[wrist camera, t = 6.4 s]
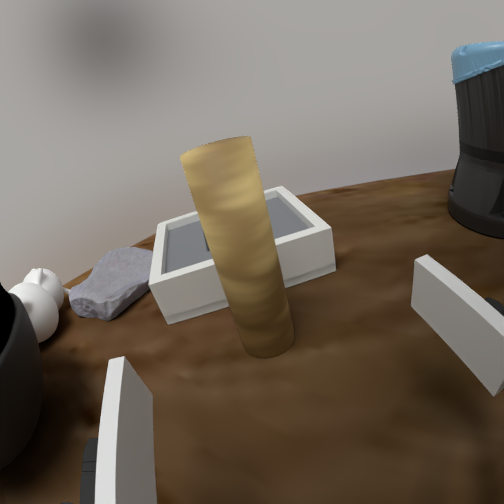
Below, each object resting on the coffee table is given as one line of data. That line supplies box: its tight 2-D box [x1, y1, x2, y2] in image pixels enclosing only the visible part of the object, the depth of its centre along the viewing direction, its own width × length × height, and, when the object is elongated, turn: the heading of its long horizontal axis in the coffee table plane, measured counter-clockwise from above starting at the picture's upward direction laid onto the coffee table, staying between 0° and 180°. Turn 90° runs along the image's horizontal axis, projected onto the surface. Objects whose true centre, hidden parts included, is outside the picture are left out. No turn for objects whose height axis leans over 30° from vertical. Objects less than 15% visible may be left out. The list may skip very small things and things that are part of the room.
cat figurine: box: [8, 268, 70, 343], centre depth 33 cm, size 9×11×12 cm
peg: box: [180, 136, 295, 358], centre depth 22 cm, size 4×4×16 cm
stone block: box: [69, 247, 153, 321], centre depth 37 cm, size 12×5×10 cm
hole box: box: [149, 186, 336, 325], centre depth 37 cm, size 18×16×5 cm
